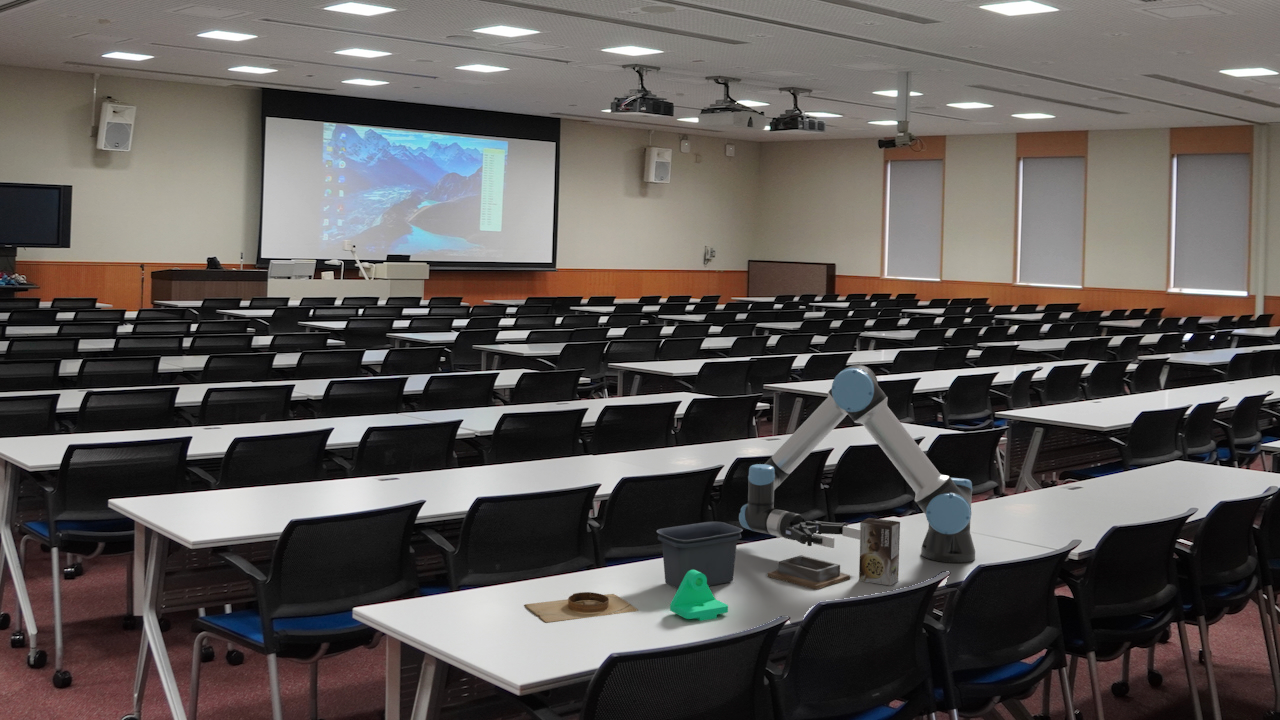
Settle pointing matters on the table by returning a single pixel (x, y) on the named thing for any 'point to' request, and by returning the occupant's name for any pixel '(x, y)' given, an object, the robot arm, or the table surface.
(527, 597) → the table surface
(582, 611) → the board
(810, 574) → the socket
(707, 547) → the storage bin
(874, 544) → the coffee box
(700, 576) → the camera mount
